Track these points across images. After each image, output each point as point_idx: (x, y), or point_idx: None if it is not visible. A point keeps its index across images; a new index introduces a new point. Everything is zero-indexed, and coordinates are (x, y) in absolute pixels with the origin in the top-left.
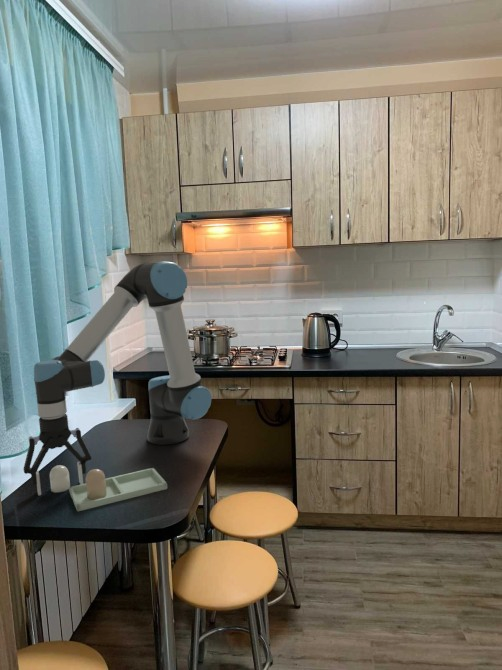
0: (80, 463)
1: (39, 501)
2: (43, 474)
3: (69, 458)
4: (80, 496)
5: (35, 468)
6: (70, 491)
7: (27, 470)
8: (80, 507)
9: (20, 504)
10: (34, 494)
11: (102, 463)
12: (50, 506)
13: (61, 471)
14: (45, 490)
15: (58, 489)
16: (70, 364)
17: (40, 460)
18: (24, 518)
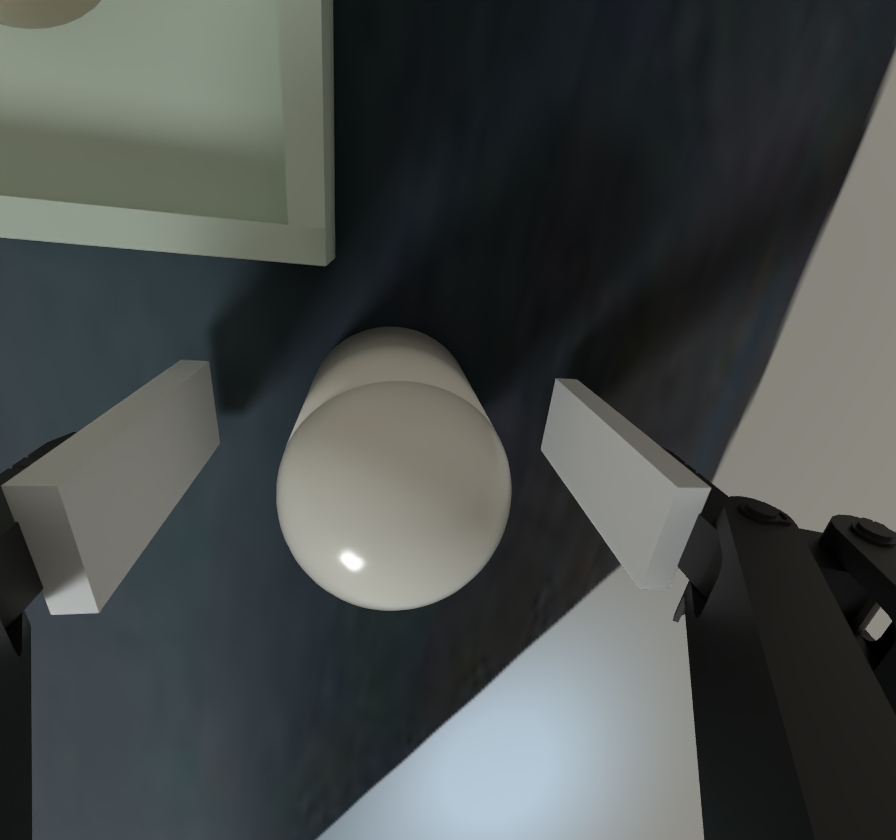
0: (29, 543)
1: (581, 317)
2: (438, 702)
3: (262, 824)
4: (223, 35)
5: (779, 549)
6: (325, 144)
7: (874, 544)
8: None
9: (697, 354)
10: None
11: None
12: (543, 130)
13: (379, 439)
14: None
15: (427, 346)
16: None
17: (812, 670)
18: (803, 16)
